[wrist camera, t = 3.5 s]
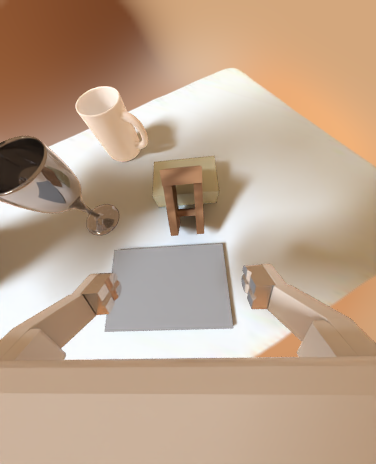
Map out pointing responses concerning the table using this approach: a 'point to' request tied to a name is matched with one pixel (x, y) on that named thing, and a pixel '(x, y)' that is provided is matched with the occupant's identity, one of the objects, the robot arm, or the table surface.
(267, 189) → the table surface
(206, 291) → the mat
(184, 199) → the pale olive rectangular block
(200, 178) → the stool
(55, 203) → the wine glass
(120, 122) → the mug
